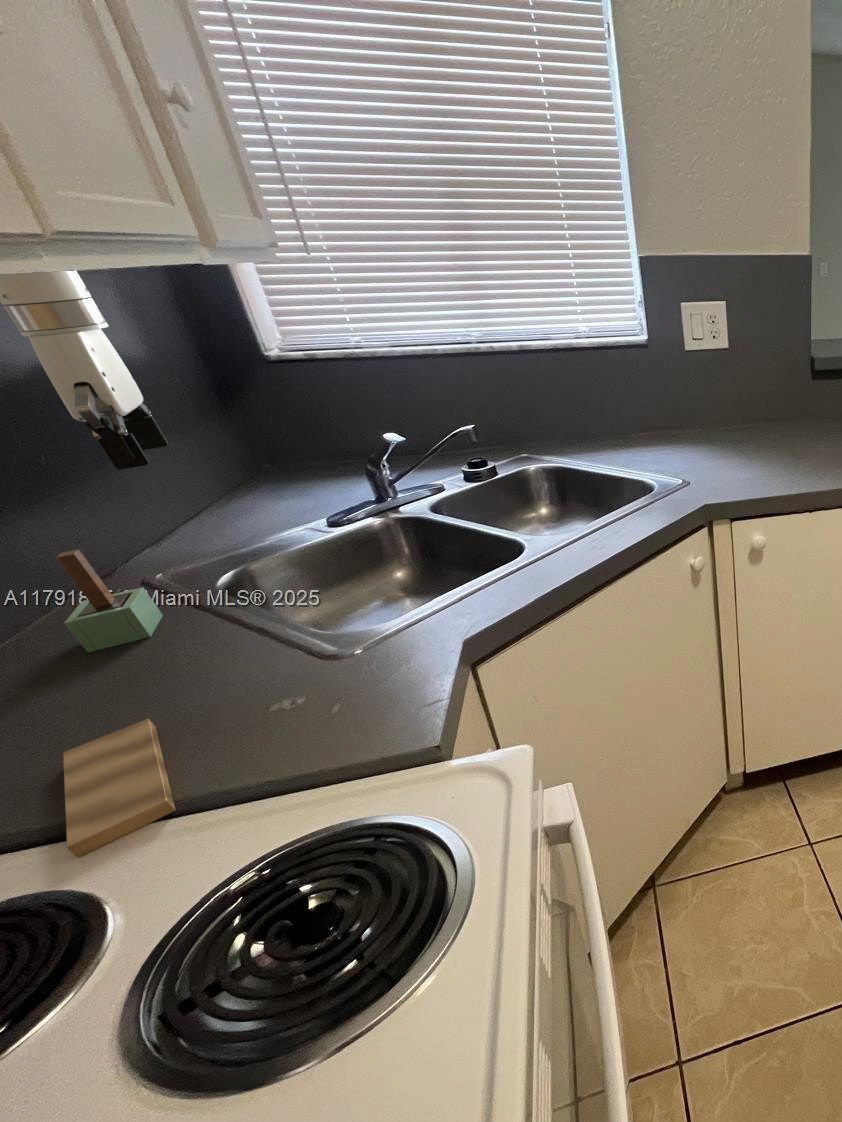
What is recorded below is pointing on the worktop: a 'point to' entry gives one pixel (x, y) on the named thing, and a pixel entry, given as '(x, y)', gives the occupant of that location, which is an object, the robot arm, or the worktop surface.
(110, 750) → the board
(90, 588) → the brown piece
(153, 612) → the green open box
